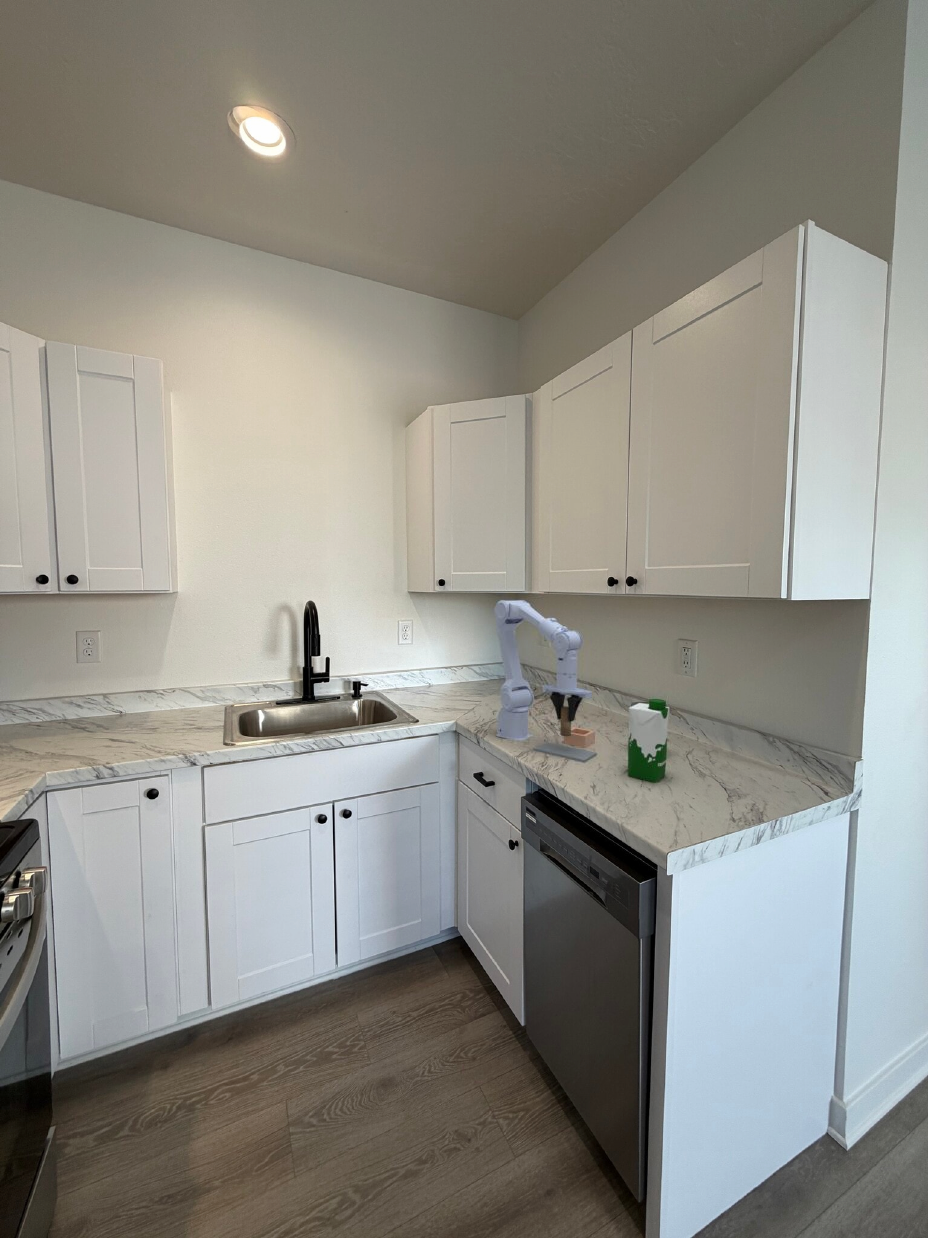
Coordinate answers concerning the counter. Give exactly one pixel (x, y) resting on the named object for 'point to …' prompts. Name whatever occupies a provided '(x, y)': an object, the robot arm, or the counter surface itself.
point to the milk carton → (648, 740)
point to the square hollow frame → (580, 737)
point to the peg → (565, 722)
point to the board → (565, 752)
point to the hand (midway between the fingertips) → (565, 719)
